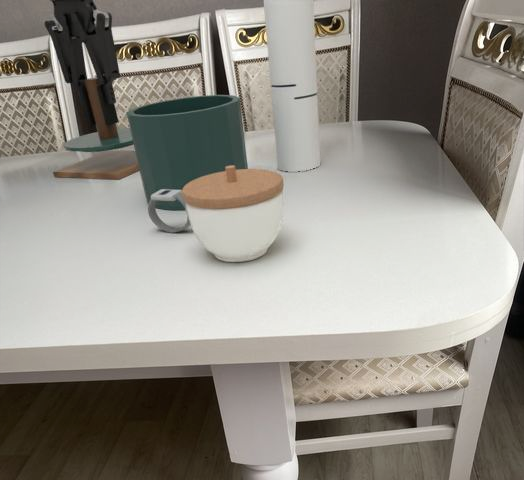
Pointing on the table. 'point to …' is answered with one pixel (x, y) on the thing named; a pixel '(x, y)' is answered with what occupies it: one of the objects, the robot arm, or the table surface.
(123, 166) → the board
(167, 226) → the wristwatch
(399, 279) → the table surface
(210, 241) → the trinket box
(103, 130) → the lid
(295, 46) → the cylindrical container
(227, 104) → the canister
